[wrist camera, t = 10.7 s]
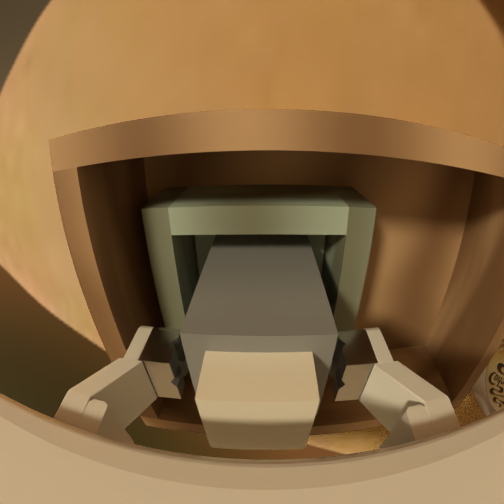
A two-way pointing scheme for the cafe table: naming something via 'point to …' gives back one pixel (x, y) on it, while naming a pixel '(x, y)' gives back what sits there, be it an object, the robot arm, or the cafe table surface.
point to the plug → (259, 341)
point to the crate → (294, 231)
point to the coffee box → (491, 384)
